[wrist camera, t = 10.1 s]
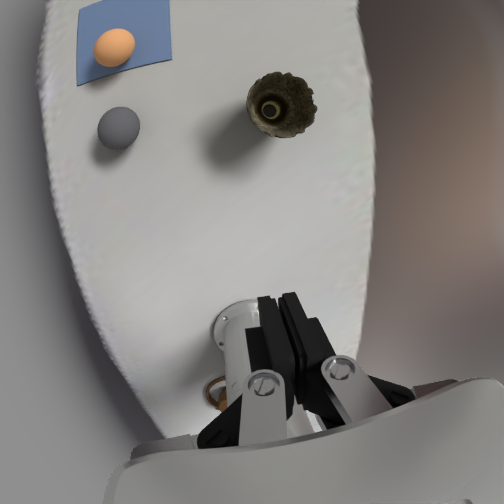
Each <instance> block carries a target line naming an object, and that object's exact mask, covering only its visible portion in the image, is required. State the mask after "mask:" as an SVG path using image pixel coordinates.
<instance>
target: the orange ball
mask: <svg viewBox="0 0 504 504" xmlns="http://www.w3.org/2000/svg"><path fill="white" fill-rule="evenodd" d="M134 48H135V40H134V37H133V36H132V34H131V33H130V32H128V31H127V30H124V29H112V30H109V31H107V32H105V33H104V34H102V35H101V36H100V37H99V38H98V40H97V41H96V43H95V46H94V57H95V59H96V61H97V62H98V63H99V64H101V65H103V66H106V67H114V66H118V65H120V64H122V63H124V62H125V61H127V60H128V59H129V58H130V56H131V55H132V53H133V51H134Z"/></svg>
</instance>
